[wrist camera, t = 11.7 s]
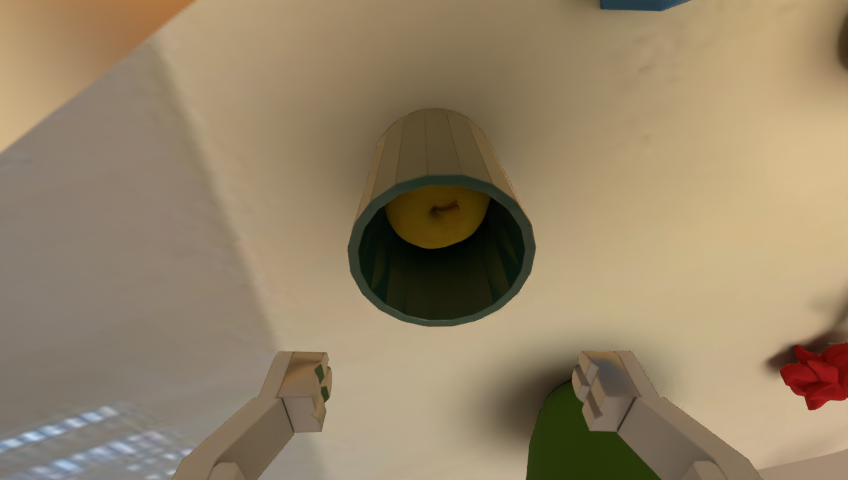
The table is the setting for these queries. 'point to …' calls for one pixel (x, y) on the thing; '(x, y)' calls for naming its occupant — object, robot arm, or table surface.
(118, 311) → the table surface
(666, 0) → the perfume bottle
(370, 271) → the green cup
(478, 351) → the table surface
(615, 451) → the vase
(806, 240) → the table surface
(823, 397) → the figurine
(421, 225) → the apple
